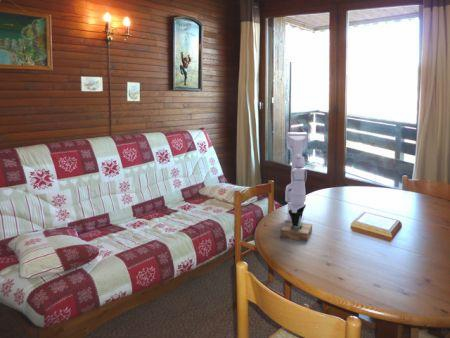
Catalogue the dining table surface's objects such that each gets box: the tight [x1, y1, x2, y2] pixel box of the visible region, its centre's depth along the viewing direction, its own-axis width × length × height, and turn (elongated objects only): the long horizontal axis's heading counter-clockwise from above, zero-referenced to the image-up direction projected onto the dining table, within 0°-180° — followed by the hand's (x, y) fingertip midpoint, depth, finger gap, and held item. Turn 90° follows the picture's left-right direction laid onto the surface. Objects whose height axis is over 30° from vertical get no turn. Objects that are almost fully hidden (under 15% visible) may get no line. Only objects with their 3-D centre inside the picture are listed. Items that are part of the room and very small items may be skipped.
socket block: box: [280, 221, 313, 242], centre depth 179 cm, size 12×12×4 cm
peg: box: [294, 216, 302, 229], centre depth 178 cm, size 3×3×9 cm
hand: (296, 222), depth 178 cm, fingers open, 7 cm apart
